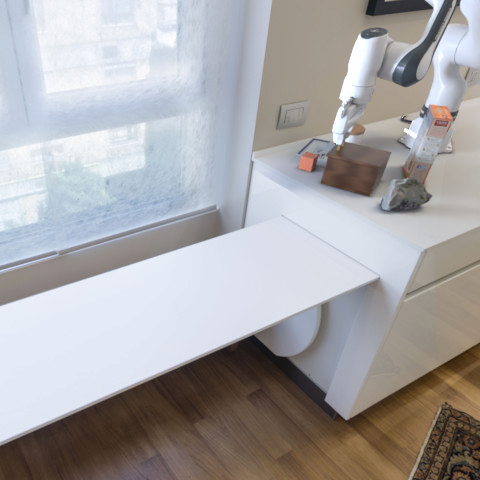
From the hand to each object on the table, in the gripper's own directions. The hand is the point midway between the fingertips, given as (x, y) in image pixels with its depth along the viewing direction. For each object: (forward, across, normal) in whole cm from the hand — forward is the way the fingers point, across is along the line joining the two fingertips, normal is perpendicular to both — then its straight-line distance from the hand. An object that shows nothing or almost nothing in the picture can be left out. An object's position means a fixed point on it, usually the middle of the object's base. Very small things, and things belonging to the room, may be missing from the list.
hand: (342, 140), depth 140 cm
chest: (+12, 0, -6) cm, 14 cm away
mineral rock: (+12, -9, -25) cm, 29 cm away
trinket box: (+12, +28, +4) cm, 31 cm away
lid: (+3, 0, -6) cm, 7 cm away
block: (+12, +2, +10) cm, 16 cm away
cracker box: (+12, +18, -22) cm, 31 cm away
